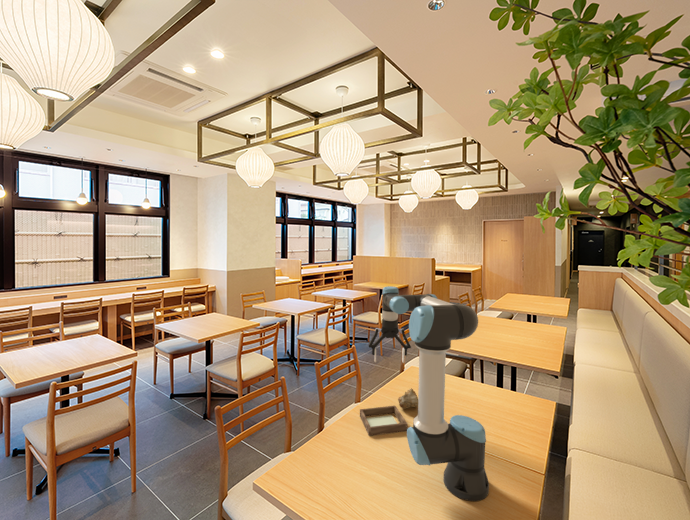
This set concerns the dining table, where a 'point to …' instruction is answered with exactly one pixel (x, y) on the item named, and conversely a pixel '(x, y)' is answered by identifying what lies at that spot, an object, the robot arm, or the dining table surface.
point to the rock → (408, 399)
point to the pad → (381, 420)
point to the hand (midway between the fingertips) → (389, 361)
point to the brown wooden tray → (383, 428)
